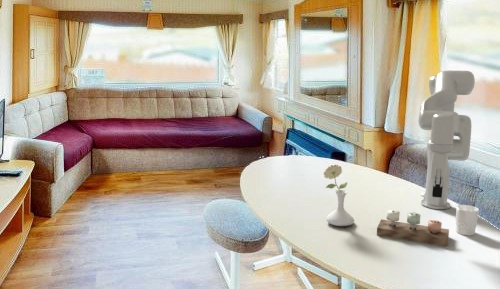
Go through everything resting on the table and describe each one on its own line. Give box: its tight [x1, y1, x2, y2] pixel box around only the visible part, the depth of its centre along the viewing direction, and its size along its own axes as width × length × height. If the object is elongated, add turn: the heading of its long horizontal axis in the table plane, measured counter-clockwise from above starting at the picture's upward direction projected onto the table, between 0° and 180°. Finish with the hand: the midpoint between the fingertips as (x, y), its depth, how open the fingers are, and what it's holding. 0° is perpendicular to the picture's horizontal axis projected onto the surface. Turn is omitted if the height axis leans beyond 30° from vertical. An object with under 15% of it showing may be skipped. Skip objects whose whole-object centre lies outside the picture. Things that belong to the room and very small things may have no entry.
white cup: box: [455, 204, 480, 237], centre depth 170 cm, size 8×8×10 cm
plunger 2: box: [406, 212, 421, 230], centre depth 166 cm, size 5×5×7 cm
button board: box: [376, 218, 450, 247], centre depth 167 cm, size 25×10×3 cm, turn 65°
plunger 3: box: [427, 219, 442, 233], centre depth 163 cm, size 5×5×7 cm
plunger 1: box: [386, 209, 401, 227], centre depth 169 cm, size 5×5×7 cm
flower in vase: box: [323, 164, 355, 227], centre depth 177 cm, size 13×11×25 cm
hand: (436, 196), depth 161 cm, fingers closed
